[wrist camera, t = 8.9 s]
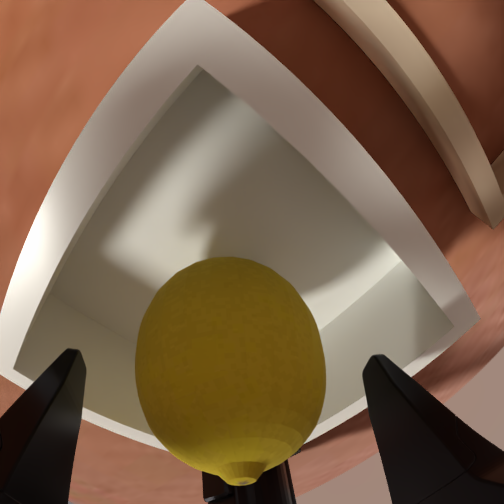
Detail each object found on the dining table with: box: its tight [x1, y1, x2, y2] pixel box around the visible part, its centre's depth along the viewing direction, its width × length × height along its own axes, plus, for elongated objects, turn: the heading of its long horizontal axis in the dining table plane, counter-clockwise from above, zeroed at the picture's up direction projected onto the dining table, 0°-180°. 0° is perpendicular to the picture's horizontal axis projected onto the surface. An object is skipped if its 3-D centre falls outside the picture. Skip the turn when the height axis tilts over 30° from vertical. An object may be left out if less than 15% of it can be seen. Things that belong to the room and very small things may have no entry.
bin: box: [0, 0, 480, 451], centre depth 11 cm, size 13×13×5 cm
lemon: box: [135, 257, 326, 486], centre depth 9 cm, size 6×6×8 cm
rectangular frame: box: [313, 0, 504, 229], centre depth 8 cm, size 12×12×2 cm
